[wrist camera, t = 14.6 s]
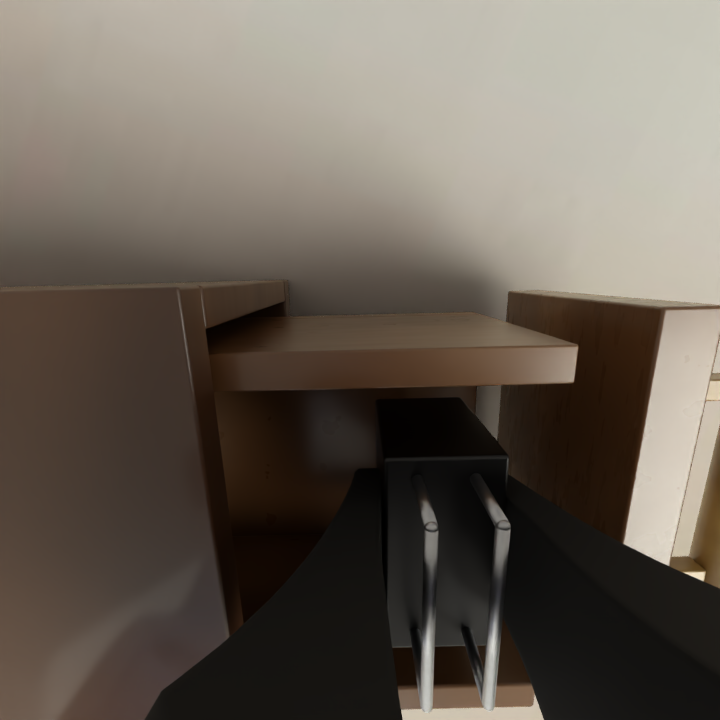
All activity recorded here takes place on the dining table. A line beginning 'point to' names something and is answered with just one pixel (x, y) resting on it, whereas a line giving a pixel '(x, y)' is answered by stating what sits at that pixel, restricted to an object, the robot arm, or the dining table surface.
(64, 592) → the cabinet
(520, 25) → the dining table surface
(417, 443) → the binder clip
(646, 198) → the dining table surface
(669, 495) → the drawer
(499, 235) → the dining table surface
